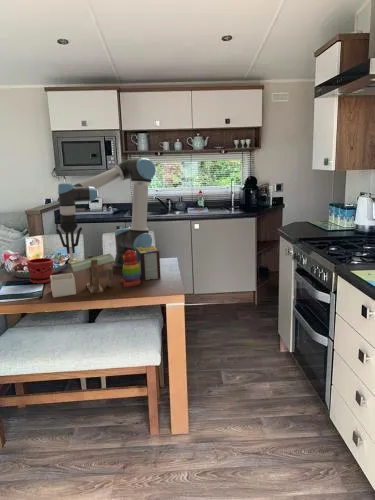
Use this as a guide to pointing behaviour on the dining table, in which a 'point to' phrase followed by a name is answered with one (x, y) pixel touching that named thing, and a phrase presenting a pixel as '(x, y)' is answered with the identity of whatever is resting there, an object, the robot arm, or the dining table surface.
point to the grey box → (63, 285)
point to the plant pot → (40, 270)
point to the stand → (97, 277)
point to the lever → (87, 263)
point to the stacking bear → (130, 269)
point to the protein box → (148, 262)
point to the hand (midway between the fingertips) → (71, 259)
